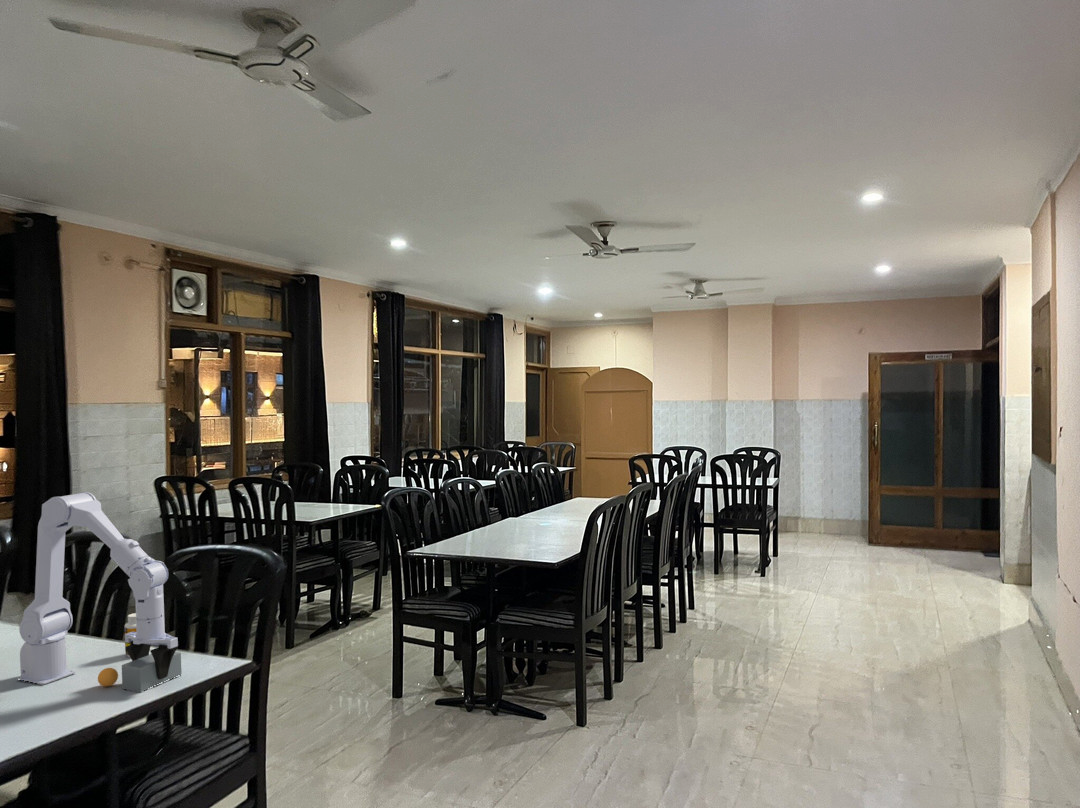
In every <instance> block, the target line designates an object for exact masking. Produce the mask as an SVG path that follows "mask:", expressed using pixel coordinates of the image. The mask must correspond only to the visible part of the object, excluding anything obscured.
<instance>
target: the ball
mask: <svg viewBox="0 0 1080 808" xmlns="http://www.w3.org/2000/svg"><path fill="white" fill-rule="evenodd" d="M118 678H119V674H118V671H117V670H116V668H113V667H107V668H104V669H102V670H101V671H100V672H99V674H98V676H97V682H98V683H99V685H101V686H102V687H106V688H107V686H108V687H111V686H113V685H115V683H116V682H117V680H118Z"/></svg>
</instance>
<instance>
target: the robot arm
mask: <svg viewBox="0 0 1080 808" xmlns="http://www.w3.org/2000/svg"><path fill="white" fill-rule="evenodd" d="M72 527H83V528H84V527H85V528H87V529H89V531H90V532H91V533H92V534H93V535H95V536H96V537H97V538H99V540H100V541H102V542H103V543H104V544H105V545H106V546H107V547H108V548H109V549H110V552H109V553H110V555H109V556H110V558H111V560H113V561H114V562H115V563H116V564H117V565H118V566H119V568H120V569H121V570H122V571H123V572H124V573H125V574H126V575H127V576H128V577H129V578H128V579H127V582H128V585H129V587H130V589H131V590H132V594H133V598H134V601H135V613H136V629H137V632H130V633H127V634H125V633H124V643H125V642H126V643H129V642H131V644H130V645H129V646H126V647H125V646H124V650H126V652H127V653H128V654H129V656H130V657H129V658H130V659H131V661H134V660H137V659H139V658H142V657H145V656H148V655H150V653H151V654H152V656H153V658H154V661H155V665H156V674H157V678H158V679H163V678H165V677H167V676H168V671H169V667H170V663H171V660H172V657H173V655H174V653H175V652H177V650H178V646H179V641H178V637H175V636H172V635H170V634H168V633H166V632H165V626H166V625H165V603H164V602H165V601H164V599H165V598H164V597H165V596H164V584H165V583H166V582H167V581H168V579H169V569H168V568H167V566H166V564H165V562H163V561H161V560H156V559H154V558H152V557H151V556H149V554H148V553H146V552H145V551H144V550H143V549H142V548H141V546H140V543H139V542H138V541H137V540H134V538H133V539H132V538H124V537H123V535H122V534H121V533H120V531H119V530H118V529H117V527H115V525H114V524H113V523H112V521H111V520H110V519H109V518H108V516H107V515H106V514H105V513H104V512H103V510H102V502H100V501H99V499H97V497H96V496H95V495H94V494H93V493H91V492H88V491H83V492H80V493H75V494H68V495H62V496H53V497H50V498H49V499H48V500H47V501H45V502H44V503H42V504H41V515H40V519H39V521H38V525H37V541H36V542H37V543H36V565H35V586H34V599H33V600H32V601H31V603H30V604H29V605H28V606H27V607H26V608H24V610H23V616H22V619H21V622H20V624H19V629H18V630H19V635H20V638H21V639H22V640H23V641H24V643H23V644H22V646H21V648H20V651H19V661H20V662H19V664H20V677H17V678H16V680H17V679H20V680H24V681H23V682H25V681H29V682H28V683H30V682H33V683H32V684H35V683H37V684H36V685H42V686H43V685H47V684H49V683H52V682H55V681H58V680H61V679H63V678H66V677H68V676H71V675H74V674H76V671H75V670H69V669H67V654H66V653H67V652H66V651H67V647H66V636H67V635H68V631H69V630H70V629H71V628H72V626H73V614H72V611H71V603H70V602H69V601H68V600H67V599H65V598H64V597H63V596H64V595H63V594H64V593H63V591H64V571H65V570H64V569H65V547H66V532H67V531H69V530H70V529H71V528H72ZM151 646H156V648H154V649H151ZM149 651H150V652H149Z"/></svg>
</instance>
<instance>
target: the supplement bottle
mask: <svg viewBox="0 0 1080 808" xmlns="http://www.w3.org/2000/svg"><path fill="white" fill-rule="evenodd" d="M130 632H137V629H136V612H135V613H131V614H130V613H129V614H128V615H127V622H126V623H125V624H124V635H125V634H127V633H130ZM124 643H125V644H124V648H125V647H126V646H129V645H130V644H131V642H129V643H126V642H125V641H124ZM124 650H125V649H124ZM124 653H125V656H126V657H128V658H131V657H130V656H129V654H128V653H127V652H126V650H125V652H124ZM149 653H151V652H150V651H149Z"/></svg>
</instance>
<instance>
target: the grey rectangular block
mask: <svg viewBox="0 0 1080 808" xmlns="http://www.w3.org/2000/svg"><path fill="white" fill-rule="evenodd" d="M182 673H183V672H182V653H181V652H179V651H175V653H174V655H173V657H172V660H171V663H170V667H169V671H168V676H167V677H165V678H163V679H158V678H157V674H156V665H155V661H154V658H153V656H152V654H150V653H149V655H148V656H145V657H142V658H139V659H137V660H134V661H132V660H131V661H128V662H126V663H124V664H122V665H121V683H122V688H121V689H122V690H124V689H127V690H126V691H129V690H132V691H131V692H135V691H137V692H136V693H143V692H142V691H144V690H146V689H148V688H150V687H152V686H154V685H157V684H159V683H161V682H164V681H166V680H168V679H171V678H174V677H176V676H178V675H181V674H182ZM146 691H147V690H146ZM144 692H145V691H144Z"/></svg>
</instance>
